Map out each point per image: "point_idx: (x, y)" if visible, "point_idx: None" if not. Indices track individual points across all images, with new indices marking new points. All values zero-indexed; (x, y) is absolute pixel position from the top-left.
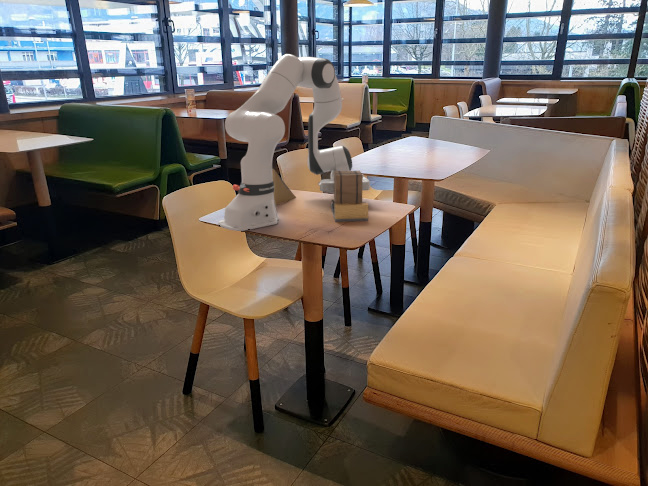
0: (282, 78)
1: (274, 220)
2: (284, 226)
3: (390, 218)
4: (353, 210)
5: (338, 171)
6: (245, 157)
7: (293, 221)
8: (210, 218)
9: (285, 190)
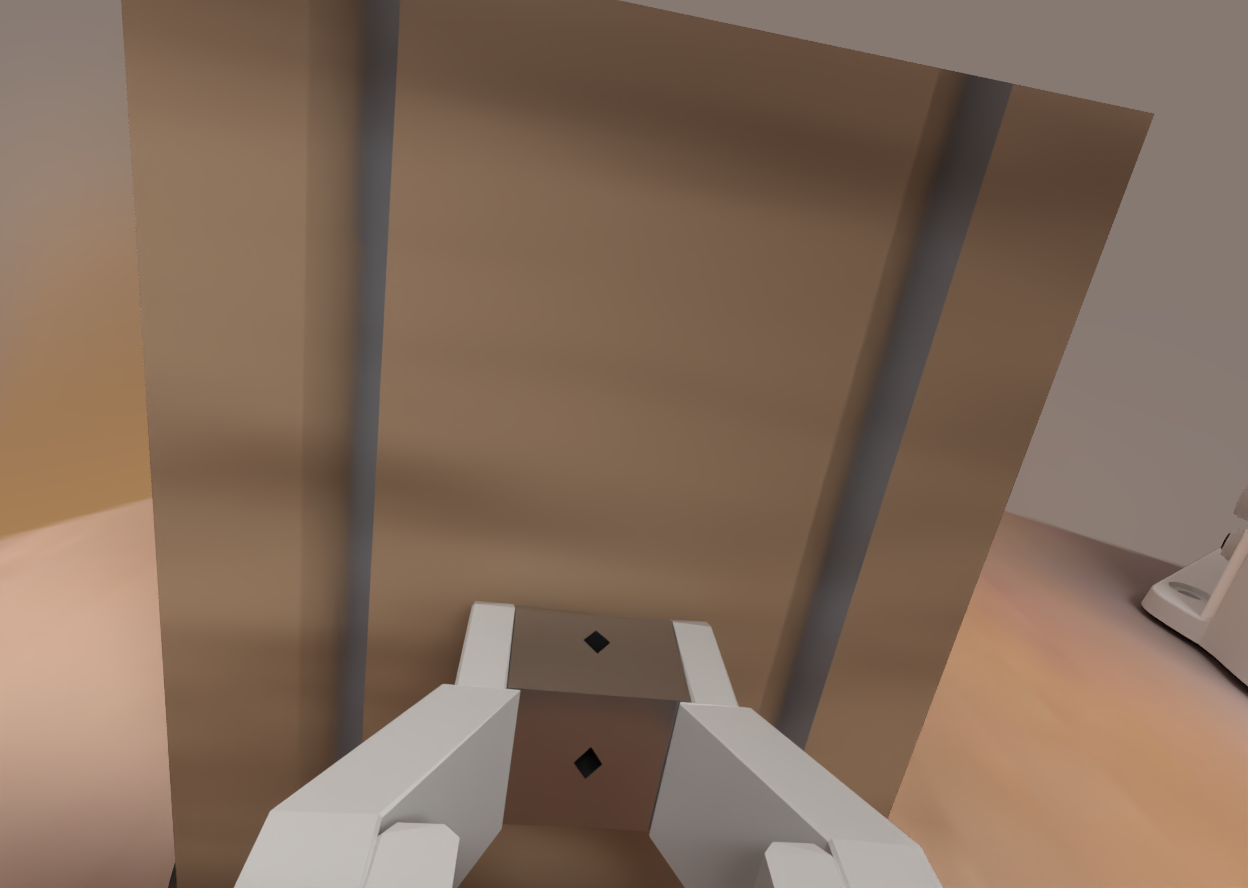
0: None
1: (1182, 597)
2: (1044, 571)
3: (95, 542)
4: None
5: (968, 89)
6: None
7: (1064, 636)
8: None
9: None
